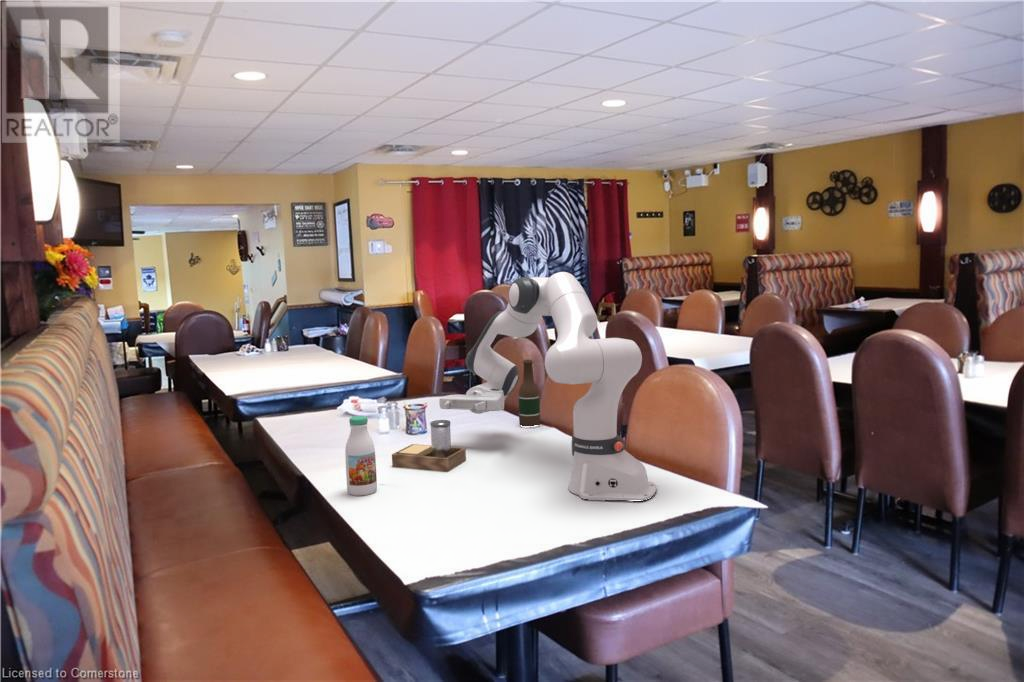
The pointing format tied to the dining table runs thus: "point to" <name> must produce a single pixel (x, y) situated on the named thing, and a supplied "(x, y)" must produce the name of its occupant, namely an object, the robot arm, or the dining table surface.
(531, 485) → the dining table surface
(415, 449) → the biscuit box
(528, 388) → the beer bottle
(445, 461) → the caddy
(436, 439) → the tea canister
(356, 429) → the milk bottle
